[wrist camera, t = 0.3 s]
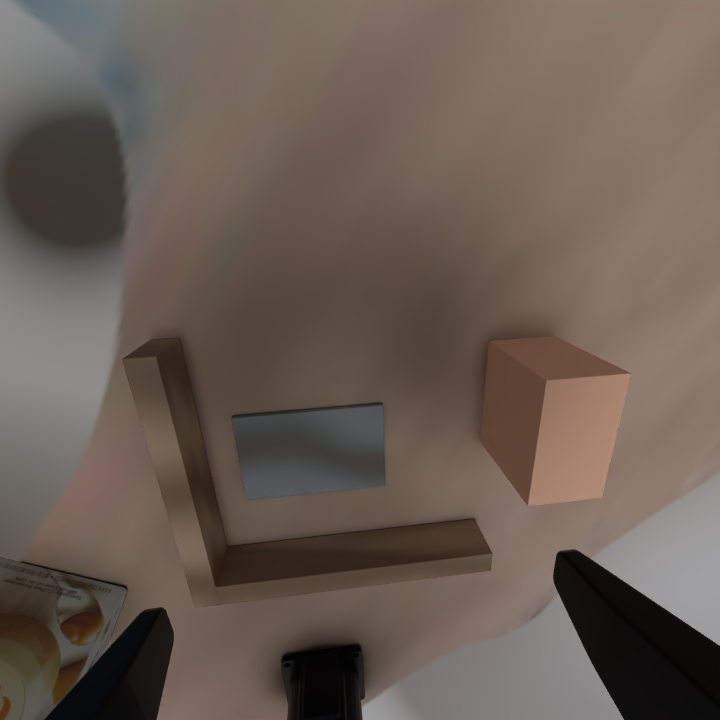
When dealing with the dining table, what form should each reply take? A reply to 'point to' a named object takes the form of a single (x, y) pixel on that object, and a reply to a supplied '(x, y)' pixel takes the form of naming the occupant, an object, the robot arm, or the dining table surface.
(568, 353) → the block
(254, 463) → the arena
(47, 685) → the coffee box
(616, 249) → the dining table surface
